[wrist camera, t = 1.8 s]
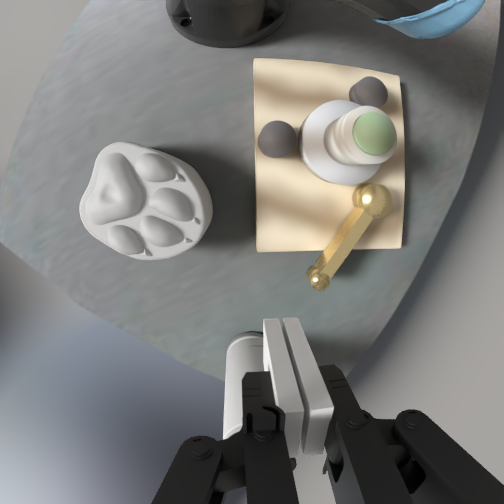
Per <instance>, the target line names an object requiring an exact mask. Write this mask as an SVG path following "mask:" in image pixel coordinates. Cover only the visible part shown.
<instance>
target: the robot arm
mask: <svg viewBox="0 0 504 504" xmlns="http://www.w3.org/2000/svg"><path fill="white" fill-rule="evenodd" d="M335 1H337V2H340V3H342V4H344V5H346V6H349V7H351V8H353V9H355V10H357V11H359V12H361V13H363V14H365V15H367V16H369V17H370V18H371V19H373V20H374V21H376V22H378V23H382V24H386V25H388V26H390V27H392V28H394V29H396V30H398V31H400V32H402V33H403V34H405V35H407V36H410V37H413V38H417V39H428V38H430V39H434V38H438V37H442V36H445V35H447V34H449V33H452V32H454V31H455V30H457V29H459V28H460V27H462V26H463V25H465V24H466V23H467V22H468V21H470V20H471V19H472V18H473V17H474V16H475V15H476V14H477V13H478V11H479V10H480V9H481V7H482V6H483V4H484V2H485V0H335ZM289 4H290V0H166V8H167V13H168V15H169V18H170V20H171V22H172V24H173V26H174V27H175V29H176V30H177V31H178V32H179V33H180V34H181V35H183V36H184V37H186V38H187V39H189V40H191V41H193V42H196V43H198V44H202V45H206V46H211V47H238V46H243V45H248V44H251V43H254V42H257V41H259V40H261V39H264V38H265V37H267V36H269V35H270V34H272V33H273V32H274V31H275V30H277V29H278V28H279V26H280V25H281V24H282V23H283V21H284V19H285V17H286V14H287V11H288V8H289ZM263 364H264V371H260V372H246V373H245V375H244V377H243V378H242V410H243V417H242V424H243V425H242V428H241V430H240V431H239V432H238V433H237V434H236V435H234V436H233V437H230V438H227V439H224V440H220V441H216V440H215V439H214V438H211V437H208V436H195V437H191V438H189V439H187V440H186V441H184V442H183V444H182V445H181V446H180V448H179V450H178V452H177V454H176V456H175V458H174V460H173V462H172V464H171V466H170V468H169V470H168V472H167V474H166V476H165V478H164V480H163V482H162V484H161V486H160V488H159V490H158V492H157V494H156V496H155V498H154V500H153V501H152V503H151V504H224V501H225V498H226V495H227V492H228V491H230V490H234V489H237V488H241V487H244V486H246V490H247V503H248V504H299V501H298V496H297V491H296V487H295V481H294V477H293V471H292V467H291V462H290V458H294V457H297V456H298V449H299V444H300V445H301V450H302V455H303V456H309V455H317V454H323V450H324V446H325V449H326V452H327V458H326V461H325V464H324V467H323V474H326V471H328V475H329V478H330V482H331V486H332V489H333V493H334V497H335V500H336V504H504V485H503V484H502V483H501V482H499V481H498V480H497V479H496V478H495V477H494V476H493V475H492V474H491V473H490V472H488V471H487V470H486V469H485V468H484V467H483V466H482V465H481V464H480V463H478V462H477V461H476V460H475V459H474V458H473V457H472V456H471V455H470V454H468V453H467V452H466V451H465V450H464V449H463V448H462V447H461V446H460V445H459V444H457V443H456V442H455V441H454V440H453V439H452V438H451V437H450V436H448V434H446V433H445V432H444V431H443V430H442V429H441V428H440V427H439V426H438V425H437V424H435V423H434V422H433V421H432V420H431V419H430V418H429V417H428V416H426V415H425V414H424V413H422V412H421V411H418V410H405V411H402V412H401V413H399V414H398V416H397V418H396V419H375V418H373V417H372V416H371V414H370V413H368V412H366V411H365V410H361V408H360V406H359V404H358V402H357V400H356V398H355V396H354V394H353V392H352V390H351V388H350V386H349V384H348V382H347V380H346V378H345V376H344V374H343V372H342V371H341V370H340V369H339V368H338V367H336V366H335V365H325V366H317V363H316V361H315V358H314V356H313V353H312V351H311V349H310V346H309V344H308V341H307V339H306V336H305V334H304V331H303V329H302V327H301V324H300V322H299V319H298V317H294V318H283V328H282V329H281V325H280V322H279V318H276V319H263Z"/></svg>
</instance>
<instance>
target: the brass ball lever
mask: <svg viewBox="0 0 504 504" xmlns="http://www.w3.org/2000/svg"><path fill="white" fill-rule="evenodd" d="M352 201H353V205H354V208H353V210H352V211H351V213H350V214H349V216H348V217H347V219H346V220H345V221H344V223H343V224H342V226H341V227H340V229H339V230H338V232H337V233H336V234H335V236H334V237H333V239H332V240H331V242H330V243H329V244H328V246H327V247H326V249H325V250H324V251H323V253H322V254H321V256H320V257H319V258H318V260H317V261H316V263H315V264H314V265H313V266H310V267H309V268H308V269H307V271H306V277H307V279H308V280H309V282H310V283H311V285H312V286H313V288H314V289H315V290H318V291H322V290H325V289H326V288H327V287H328V286H329V284H330V279H331V278H332V276H333V275H334V274H335V272H336V271H337V270H338V268H339V267H340V265H341V264H342V263H343V261H344V260H345V258H346V257H347V256H348V254H349V253H350V251H351V250H352V249H353V247H354V246H355V244H356V243H357V241H358V240H359V239H360V237H361V236H362V234H363V233H364V231H365V230H366V228H367V227H368V225H369V224H370V222H371V221H372V219H373V218H381V217H383V216H385V215H386V214H387V213H388V212H389V211H390V209H391V206H392V196H391V193H390V191H389V190H388V188H387V187H385V186H384V185H382V184H374V183H362V184H360V185H358V186H357V187H356V188H355V190H354V192H353V196H352Z"/></svg>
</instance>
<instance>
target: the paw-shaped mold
mask: <svg viewBox="0 0 504 504" xmlns="http://www.w3.org/2000/svg"><path fill="white" fill-rule="evenodd" d="M79 211H80V216H81V219H82V222H83V224H84V226H85V227H86V229H87V230H88V231H89V233H90V234H92V235H93V236H94V237H95V238H97V239H98V240H100V241H101V242H103V243H104V244H106V245H107V246H109V247H111V248H113V249H114V250H116V251H117V252H119V253H121V254H125V255H127V256H130V257H132V258H135V259H139V260H159V259H168V258H172V257H175V256H178V255H180V254H182V253H184V252H186V251H188V250H190V249H191V248H192V247H194V246H195V245H196V244H197V243H198V242H199V241H200V239H201V238H202V236H203V235H204V233H205V232H206V230H207V228H208V227H209V225H210V223H211V220H212V216H213V206H212V200H211V196H210V193H209V190H208V188H207V187H206V185H205V183H204V182H203V180H202V178H201V177H200V176H199V174H198V173H197V171H196V170H195V169H194V168H193V167H192V166H190V165H189V164H187V163H186V162H184V161H182V160H180V159H178V158H176V157H174V156H172V155H169V154H167V153H164V152H161V151H158V150H155V149H152V148H149V147H145V146H142V145H139V144H135V143H131V142H124V141H122V142H115V143H113V144H110V145H108V146H107V147H105V148H104V149H103V150H102V151H101V152H100V153H99V155H98V157H97V159H96V162H95V165H94V169H93V174H92V177H91V180H90V183H89V185H88V187H87V189H86V191H85V193H84V194H83V197H82V199H81V202H80V208H79Z"/></svg>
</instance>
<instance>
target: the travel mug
mask: <svg viewBox="0 0 504 504" xmlns="http://www.w3.org/2000/svg"><path fill="white" fill-rule="evenodd" d="M260 371H264V364H263V335H262V334H260V333H256V332H246V333H242V334H239V335H237V336H236V337H234V338H233V339H232V340H231V341H230V343H229V345H228V347H227V359H226V380H225V403H224V429H223V440H224V439H227V438H230V437H233V436H234V435H236V434H237V433H238V432H239V431H240V430H241V428H242V425H243V424H242V417H243V410H242V378H243V377H244V375H245V373H246V372H260ZM290 462H291V467H292V471H293V470H294V469H295V468H296V465H297V464H296V459H295V457H294V458H290Z"/></svg>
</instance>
